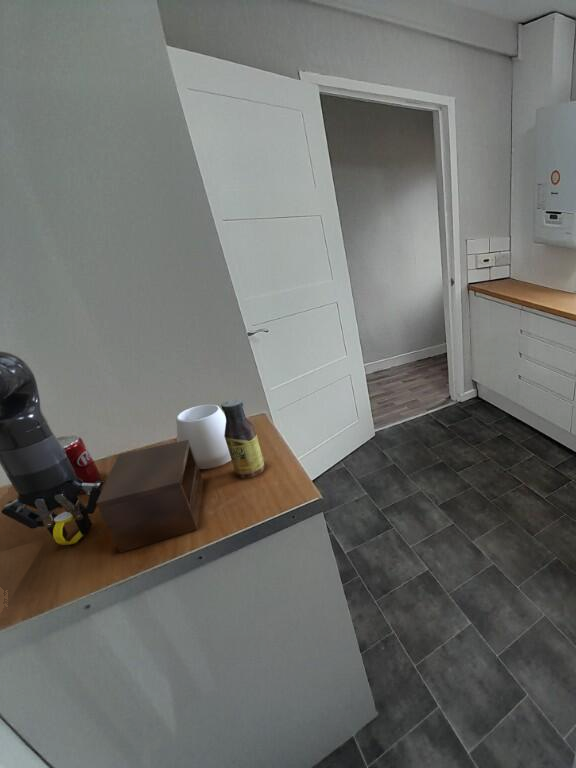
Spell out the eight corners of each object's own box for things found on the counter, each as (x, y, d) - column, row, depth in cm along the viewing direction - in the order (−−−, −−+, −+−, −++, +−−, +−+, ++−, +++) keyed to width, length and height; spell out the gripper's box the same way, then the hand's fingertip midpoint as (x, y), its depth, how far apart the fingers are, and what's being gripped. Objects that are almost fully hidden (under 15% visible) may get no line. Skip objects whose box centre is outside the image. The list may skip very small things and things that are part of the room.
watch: (82, 527, 83) (69, 505, 81) (97, 526, 84) (85, 504, 81) (56, 550, 78) (42, 527, 75) (73, 549, 78) (59, 526, 76)
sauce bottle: (231, 476, 100) (206, 405, 91) (254, 462, 105) (232, 393, 97) (250, 483, 98) (226, 410, 89) (272, 468, 103) (252, 398, 95)
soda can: (61, 501, 91) (34, 457, 85) (59, 486, 95) (33, 443, 90) (104, 486, 95) (82, 443, 90) (101, 472, 100) (79, 431, 95)
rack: (120, 553, 78) (95, 503, 73) (138, 499, 92) (118, 454, 87) (197, 530, 83) (179, 482, 79) (203, 482, 97) (188, 439, 93)
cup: (174, 462, 105) (155, 415, 99) (231, 439, 115) (216, 395, 109) (196, 482, 98) (177, 432, 92) (255, 455, 108) (240, 409, 102)
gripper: (-34, 484, 67) (16, 562, 74) (82, 460, 74) (117, 533, 81) (-12, 462, 73) (32, 535, 80) (93, 441, 80) (126, 511, 87)
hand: (75, 534), depth 80 cm, fingers closed on watch, 2 cm apart
